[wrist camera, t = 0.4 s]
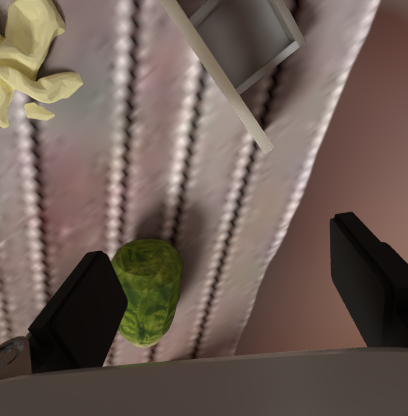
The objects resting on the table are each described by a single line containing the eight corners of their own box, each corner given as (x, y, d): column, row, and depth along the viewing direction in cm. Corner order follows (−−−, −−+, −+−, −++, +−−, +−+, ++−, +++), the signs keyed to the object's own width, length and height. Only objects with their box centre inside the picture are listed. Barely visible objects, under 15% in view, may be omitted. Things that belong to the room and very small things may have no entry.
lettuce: (124, 312, 54) (102, 366, 44) (121, 225, 45) (91, 268, 35) (180, 319, 54) (170, 375, 44) (188, 233, 45) (177, 279, 35)
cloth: (-39, 123, 40) (-81, 130, 34) (-86, -39, 31) (-152, -63, 26) (108, 142, 40) (90, 152, 34) (100, -16, 31) (74, -36, 26)
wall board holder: (256, 137, 37) (264, 154, 29) (149, -19, 30) (122, -53, 22) (322, 89, 34) (353, 93, 26) (220, -97, 27) (218, -170, 19)
